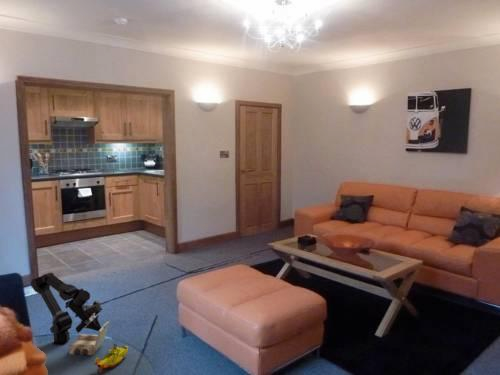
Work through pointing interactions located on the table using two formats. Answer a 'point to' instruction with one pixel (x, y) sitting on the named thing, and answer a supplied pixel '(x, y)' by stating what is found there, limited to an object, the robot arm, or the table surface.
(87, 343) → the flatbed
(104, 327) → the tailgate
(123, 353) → the toy boat
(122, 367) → the table surface
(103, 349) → the table surface
